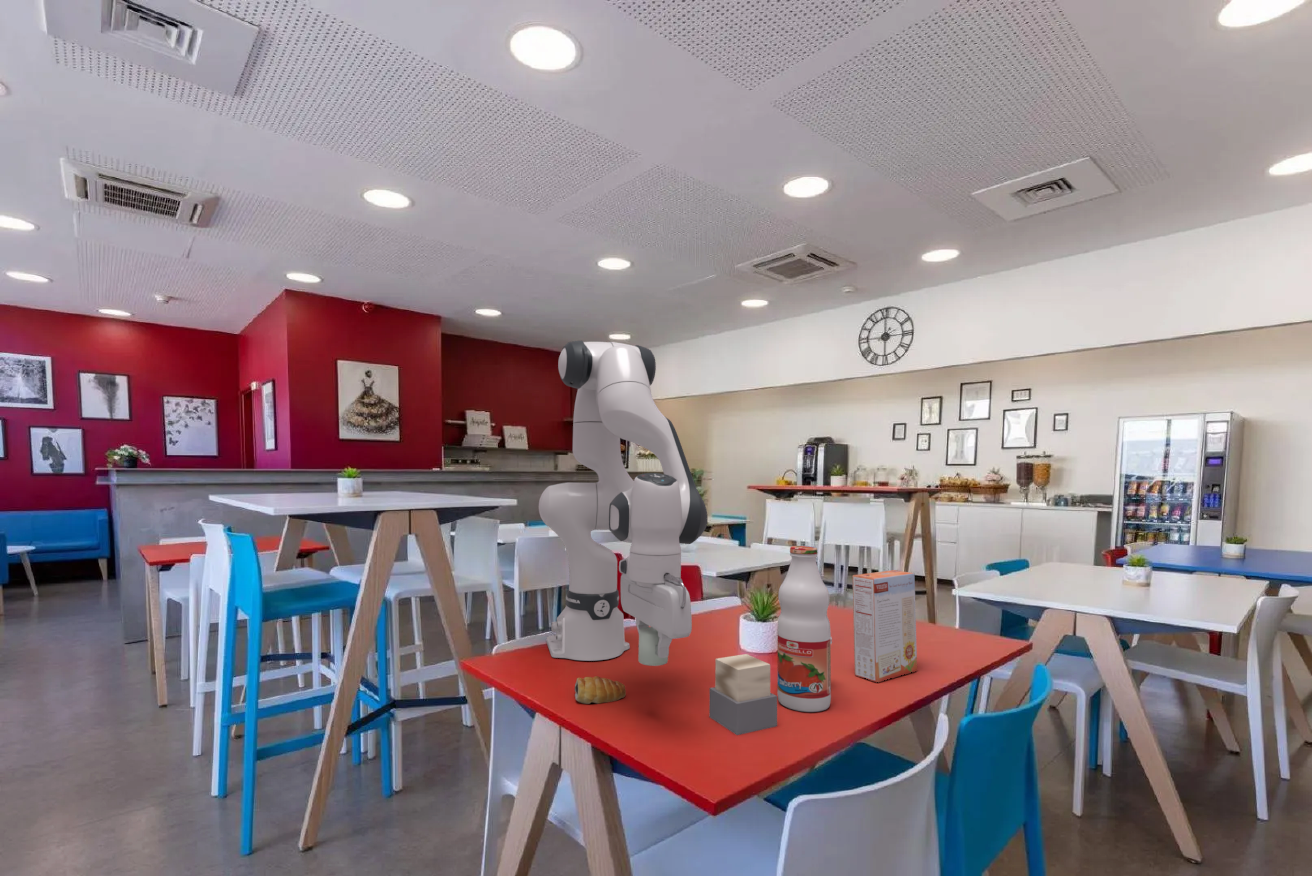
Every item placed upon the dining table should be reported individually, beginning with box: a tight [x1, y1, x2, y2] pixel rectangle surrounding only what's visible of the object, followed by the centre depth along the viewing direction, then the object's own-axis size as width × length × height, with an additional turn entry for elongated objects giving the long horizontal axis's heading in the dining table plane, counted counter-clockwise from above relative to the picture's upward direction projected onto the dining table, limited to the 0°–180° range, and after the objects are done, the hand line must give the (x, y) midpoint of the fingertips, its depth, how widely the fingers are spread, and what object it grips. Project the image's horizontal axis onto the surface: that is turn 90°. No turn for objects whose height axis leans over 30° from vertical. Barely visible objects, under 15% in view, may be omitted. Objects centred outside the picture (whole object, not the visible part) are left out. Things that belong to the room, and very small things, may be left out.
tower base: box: [708, 686, 778, 736], centre depth 100 cm, size 8×8×5 cm
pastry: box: [574, 675, 627, 705], centre depth 110 cm, size 9×7×4 cm
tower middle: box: [714, 653, 771, 702], centre depth 100 cm, size 6×6×5 cm
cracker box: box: [852, 569, 918, 683], centre depth 126 cm, size 14×6×21 cm, turn 123°
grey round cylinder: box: [638, 626, 669, 667], centre depth 102 cm, size 5×5×5 cm
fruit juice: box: [776, 545, 832, 713], centre depth 109 cm, size 9×9×28 cm
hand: (653, 650), depth 102 cm, fingers closed on grey round cylinder, 5 cm apart
